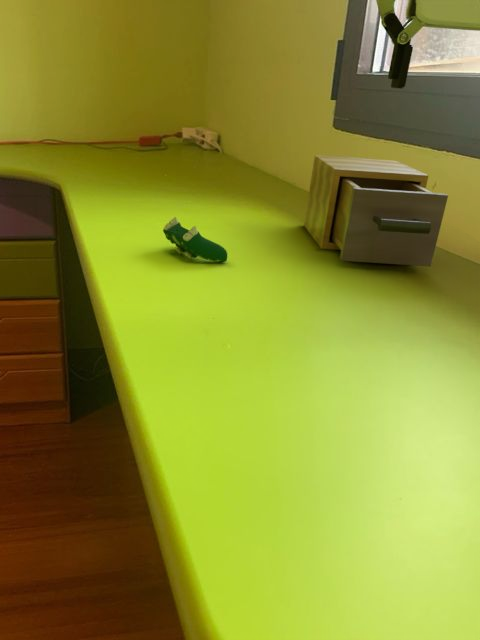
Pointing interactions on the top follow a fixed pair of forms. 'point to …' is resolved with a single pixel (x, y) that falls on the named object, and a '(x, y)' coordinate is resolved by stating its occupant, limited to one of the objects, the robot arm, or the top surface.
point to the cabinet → (328, 182)
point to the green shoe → (193, 242)
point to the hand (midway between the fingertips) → (442, 91)
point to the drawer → (386, 221)
